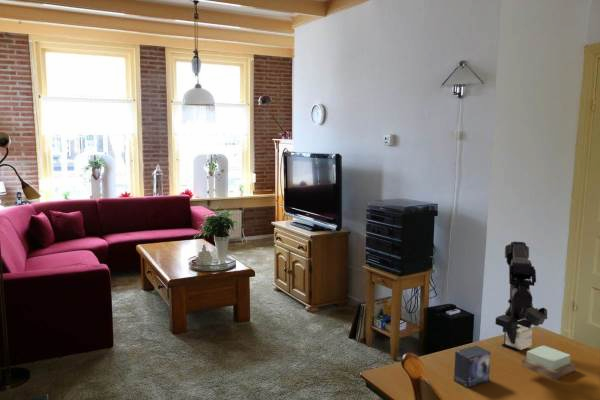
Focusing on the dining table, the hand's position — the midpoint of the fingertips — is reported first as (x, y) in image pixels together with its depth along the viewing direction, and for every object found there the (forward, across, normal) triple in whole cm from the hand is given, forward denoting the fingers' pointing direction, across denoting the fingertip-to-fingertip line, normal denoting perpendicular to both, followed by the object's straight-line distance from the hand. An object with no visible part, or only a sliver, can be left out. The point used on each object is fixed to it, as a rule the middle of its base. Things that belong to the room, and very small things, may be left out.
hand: (518, 341), depth 167 cm
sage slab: (+8, +11, -4) cm, 15 cm away
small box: (+11, -19, +4) cm, 23 cm away
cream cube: (+1, 0, 0) cm, 1 cm away
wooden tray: (+11, +11, -5) cm, 16 cm away
